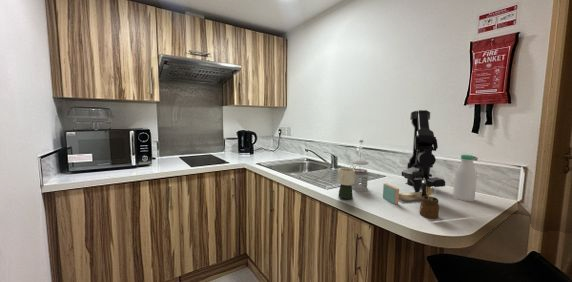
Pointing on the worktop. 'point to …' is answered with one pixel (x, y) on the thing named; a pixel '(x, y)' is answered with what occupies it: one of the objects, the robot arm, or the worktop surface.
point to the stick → (410, 196)
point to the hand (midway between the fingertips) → (420, 196)
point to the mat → (410, 201)
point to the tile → (391, 193)
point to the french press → (360, 175)
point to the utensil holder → (429, 205)
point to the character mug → (346, 182)
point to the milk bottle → (465, 179)
